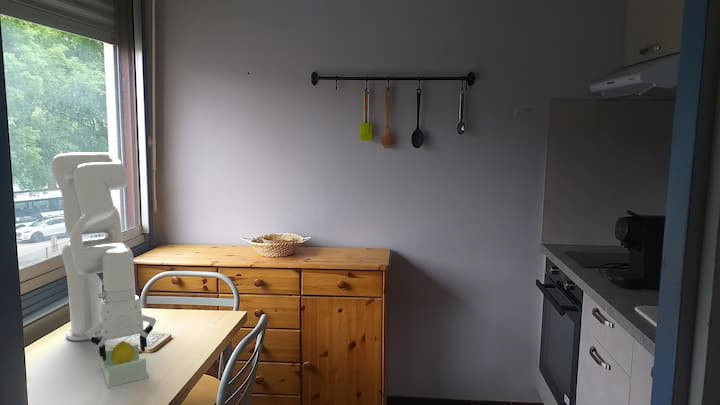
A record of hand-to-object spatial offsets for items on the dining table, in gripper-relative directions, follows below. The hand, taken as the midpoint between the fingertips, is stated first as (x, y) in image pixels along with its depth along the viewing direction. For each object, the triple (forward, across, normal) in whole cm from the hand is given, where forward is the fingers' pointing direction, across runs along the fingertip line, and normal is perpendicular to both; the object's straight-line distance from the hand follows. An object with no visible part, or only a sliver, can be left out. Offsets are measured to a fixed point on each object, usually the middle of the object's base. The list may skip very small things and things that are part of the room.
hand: (123, 354), depth 131 cm
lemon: (+4, 0, 0) cm, 5 cm away
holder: (+5, 0, 0) cm, 5 cm away
